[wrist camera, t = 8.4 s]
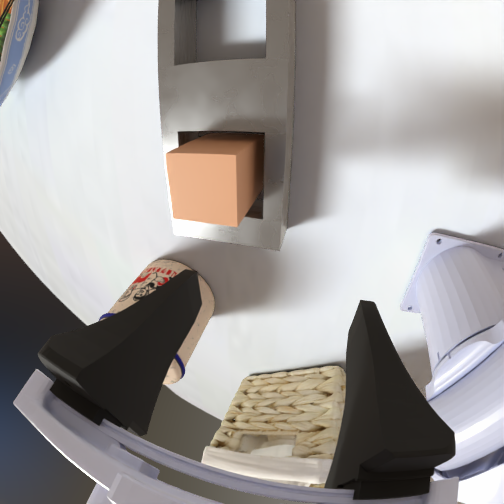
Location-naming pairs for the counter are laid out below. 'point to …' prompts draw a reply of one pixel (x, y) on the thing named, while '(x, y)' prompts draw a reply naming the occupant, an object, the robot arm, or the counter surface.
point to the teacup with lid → (151, 281)
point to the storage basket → (282, 427)
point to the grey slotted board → (232, 111)
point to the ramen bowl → (15, 39)
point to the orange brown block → (216, 177)
